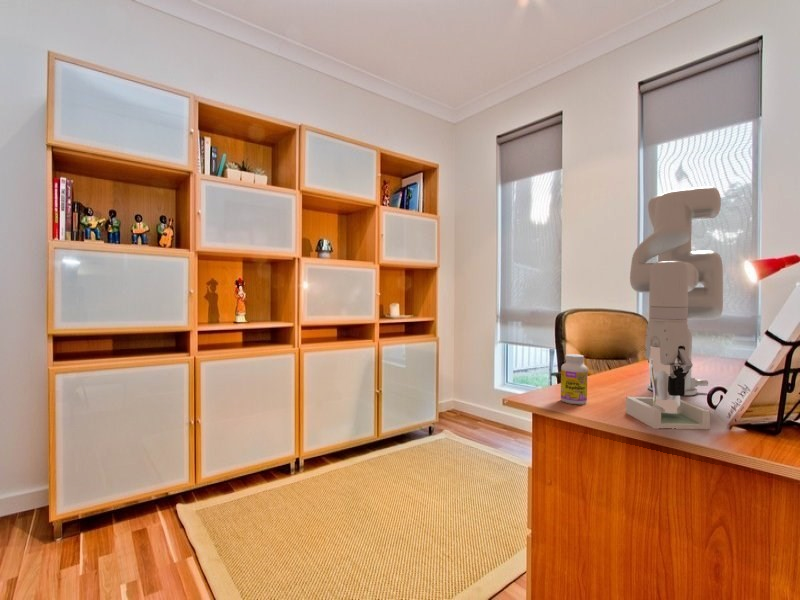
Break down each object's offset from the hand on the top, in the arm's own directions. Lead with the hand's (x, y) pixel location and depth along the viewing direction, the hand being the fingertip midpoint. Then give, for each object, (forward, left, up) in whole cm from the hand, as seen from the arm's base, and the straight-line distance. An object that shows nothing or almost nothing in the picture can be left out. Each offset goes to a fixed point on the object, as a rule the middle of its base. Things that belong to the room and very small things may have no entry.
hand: (666, 390), depth 96 cm
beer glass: (0, 0, -5) cm, 5 cm away
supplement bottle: (+15, -16, -7) cm, 23 cm away
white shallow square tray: (0, 0, -7) cm, 7 cm away
